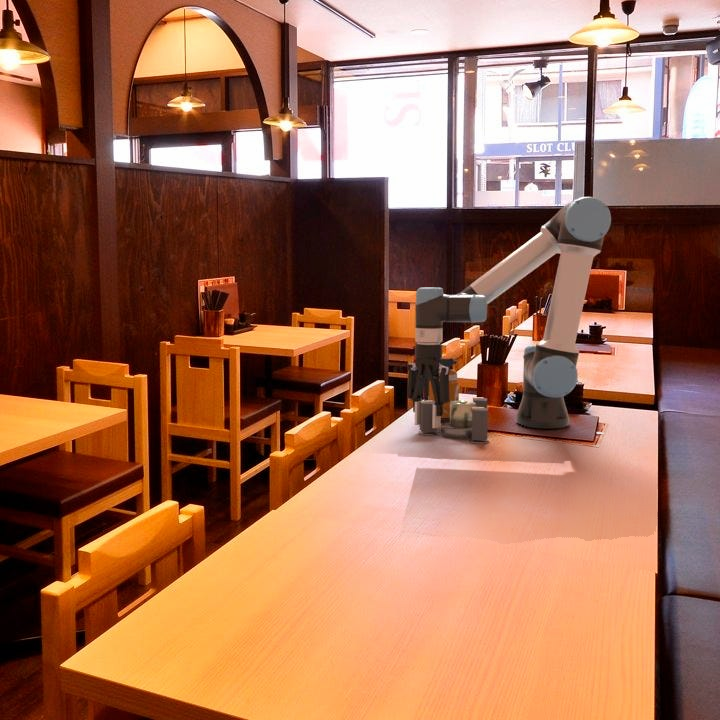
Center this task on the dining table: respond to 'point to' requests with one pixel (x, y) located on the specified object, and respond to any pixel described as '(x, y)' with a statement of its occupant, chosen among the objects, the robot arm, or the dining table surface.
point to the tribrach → (458, 423)
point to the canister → (452, 389)
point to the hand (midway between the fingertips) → (427, 425)
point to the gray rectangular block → (479, 423)
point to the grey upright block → (426, 416)
